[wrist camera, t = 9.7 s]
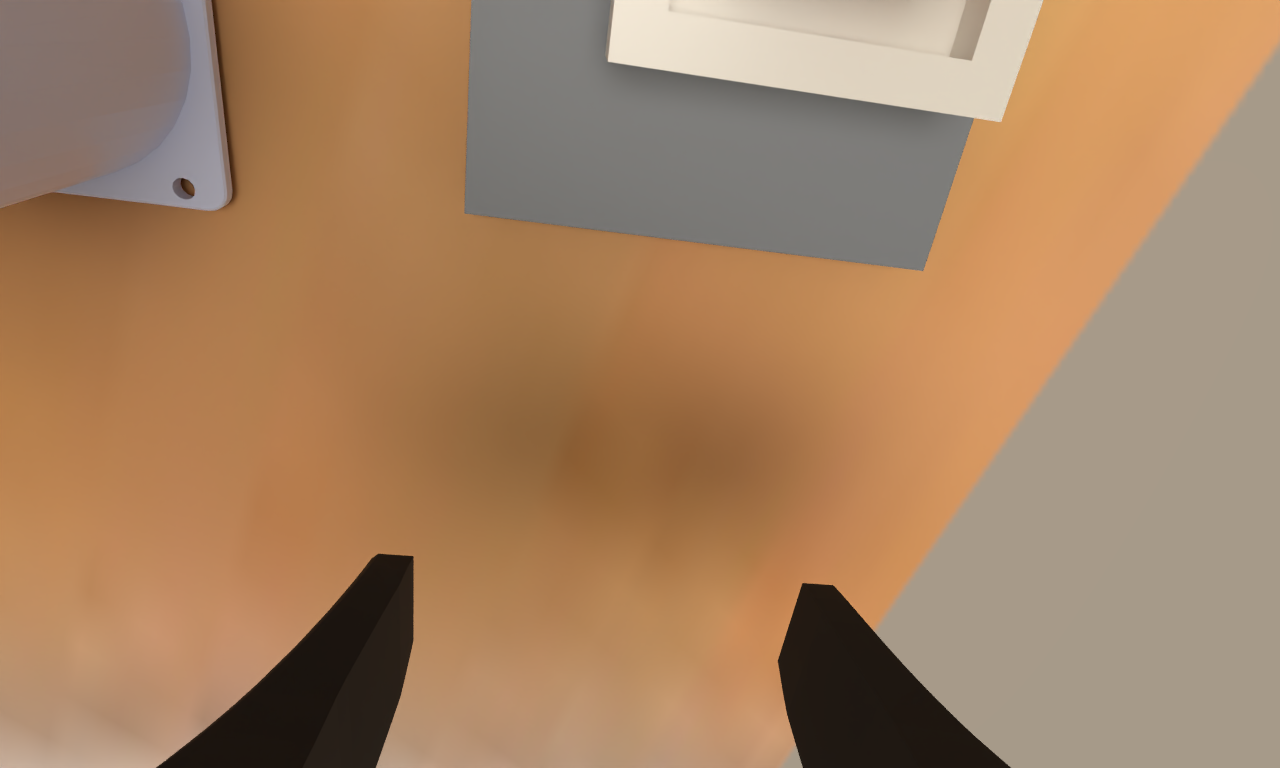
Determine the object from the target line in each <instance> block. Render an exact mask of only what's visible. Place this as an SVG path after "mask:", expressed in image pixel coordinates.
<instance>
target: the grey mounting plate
mask: <svg viewBox="0 0 1280 768" xmlns="http://www.w3.org/2000/svg"><path fill="white" fill-rule="evenodd" d="M610 6H611V0H472V1H471V32H470V62H469V92H468V123H467V153H466V184H465V213H466V214H473V215H481V216H489V217H497V218H505V219H513V220H521V221H529V222H537V223H545V224H553V225H561V226H569V227H577V228H585V229H593V230H601V231H609V232H617V233H625V234H633V235H641V236H649V237H657V238H665V239H673V240H681V241H689V242H697V243H705V244H713V245H721V246H729V247H737V248H745V249H753V250H761V251H769V252H777V253H785V254H793V255H800V256H808V257H816V258H824V259H832V260H840V261H848V262H856V263H864V264H872V265H880V266H888V267H896V268H904V269H912V270H920V271H923V270H924V267H925V264H926V261H927V258H928V255H929V252H930V249H931V246H932V243H933V240H934V237H935V234H936V231H937V228H938V225H939V222H940V219H941V216H942V213H943V210H944V207H945V204H946V201H947V198H948V195H949V192H950V189H951V186H952V183H953V180H954V177H955V174H956V171H957V168H958V165H959V162H960V159H961V156H962V152H963V149H964V146H965V143H966V140H967V137H968V134H969V131H970V128H971V125H972V122H973V119H974V118H971V117H965V116H958V115H952V114H945V113H939V112H932V111H926V110H919V109H913V108H906V107H899V106H893V105H886V104H880V103H873V102H867V101H860V100H854V99H847V98H841V97H834V96H828V95H821V94H815V93H808V92H802V91H795V90H789V89H782V88H776V87H769V86H763V85H756V84H750V83H743V82H737V81H730V80H724V79H717V78H711V77H704V76H698V75H691V74H685V73H678V72H672V71H665V70H659V69H652V68H646V67H639V66H632V65H626V64H619V63H613V62H608V61H607V59H606V56H605V51H606V42H607V33H608V24H609V15H610Z"/></svg>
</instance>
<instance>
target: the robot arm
mask: <svg viewBox="0 0 1280 768" xmlns="http://www.w3.org/2000/svg"><path fill="white" fill-rule="evenodd" d="M182 178H184V179H187V180H189V181H190V182H191V183H192V184H193V186H194V188H195V195H194V196H191V195H189V194H187V193H186V192H185V191H184V190H183V189H182V186H181V179H182ZM51 192H57V193H65V194H73V195H82V196H90V197H98V198H107V199H115V200H123V201H131V202H140V203H148V204H156V205H165V206H173V207H181V208H189V209H198V210H206V211H213V210H218V209H220V208H222V207H224V206H226V205H227V204H228V203H229V202H230V200H231V199H232V182H231V173H230V164H229V155H228V146H227V137H226V128H225V119H224V110H223V101H222V92H221V83H220V74H219V65H218V56H217V47H216V38H215V29H214V20H213V11H212V2H211V0H0V208H3V207H6V206H10V205H13V204H16V203H19V202H22V201H25V200H29V199H32V198H35V197H38V196H41V195H44V194H48V193H51ZM412 644H413V556H402V555H387V554H377V555H376V556H375V557H373V558H372V559H371V560H370V562H369V563H368V564H367V565H366V567H365V568H364V569H363V571H362V572H361V573H360V574H359V576H358V577H357V578H356V579H355V581H354V582H353V583H352V584H351V585H350V587H349V588H348V589H347V590H346V591H345V593H344V594H343V595H342V596H341V597H340V598H339V599H338V601H337V602H336V603H335V604H334V605H333V606H332V608H331V609H330V610H329V611H328V612H327V613H326V614H325V615H324V616H323V617H322V619H321V620H320V621H319V622H318V623H317V624H316V625H315V626H314V627H313V628H312V629H311V631H310V632H309V633H308V634H307V635H306V636H305V637H304V638H303V639H302V640H301V641H300V642H299V643H298V644H297V645H296V646H295V647H294V649H293V650H291V651H290V652H289V653H288V654H287V655H286V656H285V657H284V658H283V659H282V660H281V661H280V662H279V663H278V664H277V665H276V666H275V667H274V668H273V669H272V670H271V671H270V672H269V673H268V674H267V675H266V676H265V677H264V678H263V679H262V680H261V681H260V682H259V683H258V684H257V685H256V686H254V687H253V688H252V689H251V690H250V691H249V692H248V693H247V694H246V695H245V696H243V697H242V698H241V699H240V700H239V701H238V702H237V703H236V704H234V705H233V706H232V707H231V708H230V709H229V710H228V711H226V712H225V713H224V714H223V715H222V716H221V717H219V718H218V719H217V720H216V721H215V722H213V723H212V724H211V725H210V726H209V727H208V728H206V729H205V730H204V731H203V732H201V733H200V734H199V735H198V736H196V737H195V738H194V739H193V740H191V741H190V742H189V743H187V744H186V745H185V746H184V747H182V748H181V749H180V750H178V751H177V752H176V753H175V754H173V755H172V756H171V757H170V758H168V759H167V760H166V761H164V762H163V763H162V764H160V765H159V766H158V767H156V768H376V765H377V763H378V760H379V757H380V754H381V751H382V748H383V745H384V743H385V740H386V737H387V734H388V731H389V728H390V725H391V722H392V720H393V717H394V714H395V711H396V708H397V705H398V702H399V699H400V696H401V692H402V688H403V684H404V679H405V675H406V671H407V666H408V662H409V658H410V653H411V649H412ZM778 664H779V670H780V677H781V683H782V689H783V695H784V700H785V705H786V711H787V715H788V719H789V722H790V726H791V729H792V733H793V736H794V739H795V743H796V746H797V749H798V752H799V756H800V759H801V763H802V766H803V768H1010V767H1009V766H1008V765H1007V764H1006V763H1005V762H1004V761H1002V760H1001V759H1000V758H999V757H998V756H997V755H995V754H994V753H993V752H992V751H991V750H990V749H989V748H988V747H986V746H985V745H984V744H983V743H982V742H981V741H980V740H978V739H977V738H976V737H975V736H974V735H973V734H972V733H971V732H970V731H968V729H966V728H965V727H964V726H963V725H962V724H961V723H960V722H959V721H958V720H957V719H956V718H955V717H954V716H953V715H952V714H951V713H950V712H949V711H948V710H946V708H945V707H944V706H943V705H942V704H941V703H940V702H939V701H938V700H937V699H936V698H935V697H934V696H933V695H932V694H931V693H930V692H929V691H928V690H927V689H926V688H925V687H924V686H923V685H922V684H921V683H920V682H919V681H918V680H917V679H916V678H915V677H914V675H913V674H912V673H911V672H910V671H909V670H908V669H907V668H906V667H905V666H904V665H903V664H902V662H901V661H900V660H899V659H898V658H897V657H896V656H895V655H894V654H893V653H892V651H891V650H890V649H889V648H888V647H887V646H886V645H885V644H884V643H883V642H882V640H881V639H880V638H879V637H878V636H877V634H876V633H875V632H874V631H873V630H872V629H871V628H870V626H869V625H868V624H867V623H866V622H865V621H864V620H863V618H862V617H861V616H860V615H859V614H858V613H857V611H856V610H855V609H854V608H853V607H852V606H851V605H850V603H849V602H848V601H847V600H846V599H845V598H844V597H843V595H842V594H841V593H840V592H839V591H838V590H837V589H836V588H835V587H834V586H833V585H821V584H807V583H802V587H801V590H800V593H799V596H798V599H797V602H796V605H795V609H794V612H793V615H792V618H791V621H790V624H789V627H788V631H787V634H786V637H785V640H784V643H783V646H782V649H781V653H780V656H779V659H778Z"/></svg>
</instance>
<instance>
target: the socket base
mask: <svg viewBox="0 0 1280 768" xmlns="http://www.w3.org/2000/svg"><path fill="white" fill-rule="evenodd" d="M1042 3H1043V0H611V6H610V15H609V24H608V33H607V42H606V51H605V56H606V59H607V61H608V62H613V63H619V64H626V65H632V66H639V67H646V68H652V69H659V70H665V71H672V72H678V73H685V74H691V75H698V76H704V77H711V78H717V79H724V80H730V81H737V82H743V83H750V84H756V85H763V86H769V87H776V88H782V89H789V90H795V91H802V92H808V93H815V94H821V95H828V96H834V97H841V98H847V99H854V100H860V101H867V102H873V103H880V104H886V105H893V106H899V107H906V108H913V109H919V110H926V111H932V112H939V113H945V114H952V115H958V116H965V117H971V118H978V119H984V120H991V121H997V122H1001V120H1002V118H1003V115H1004V112H1005V109H1006V106H1007V103H1008V100H1009V97H1010V95H1011V92H1012V89H1013V86H1014V83H1015V80H1016V77H1017V75H1018V72H1019V69H1020V66H1021V63H1022V60H1023V57H1024V54H1025V52H1026V49H1027V46H1028V43H1029V40H1030V37H1031V34H1032V32H1033V29H1034V26H1035V23H1036V20H1037V17H1038V14H1039V11H1040V9H1041V6H1042Z"/></svg>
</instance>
